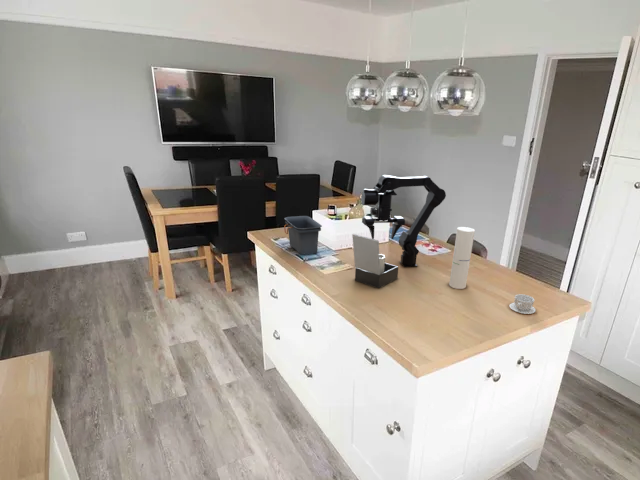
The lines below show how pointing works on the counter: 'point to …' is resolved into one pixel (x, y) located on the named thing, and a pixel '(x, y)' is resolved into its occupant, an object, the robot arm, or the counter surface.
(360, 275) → the dark grey open box
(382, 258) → the white cup
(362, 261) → the grey flat rectangular panel
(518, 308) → the teacup
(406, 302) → the counter surface
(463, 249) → the cylindrical container
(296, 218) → the storage bin
